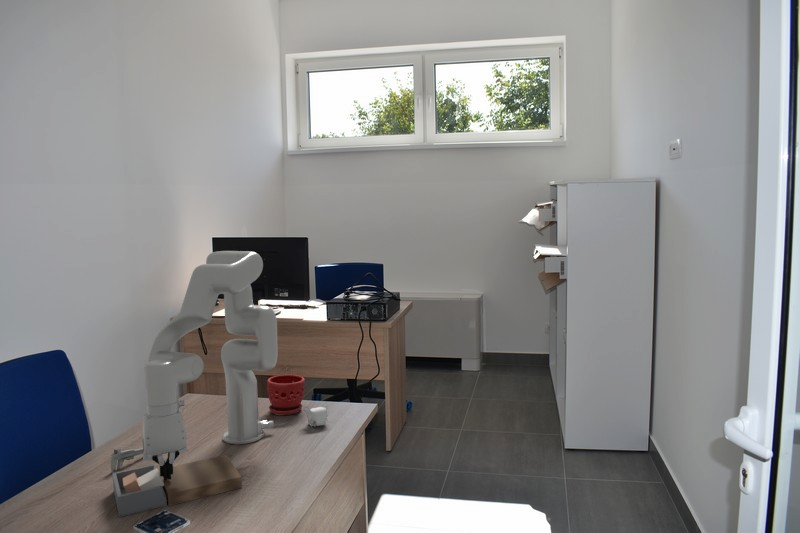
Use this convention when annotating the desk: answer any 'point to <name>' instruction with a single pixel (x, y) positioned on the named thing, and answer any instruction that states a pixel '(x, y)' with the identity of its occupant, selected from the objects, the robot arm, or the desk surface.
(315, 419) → the elephant figurine
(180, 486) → the plate
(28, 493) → the desk surface
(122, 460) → the caliper
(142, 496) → the box
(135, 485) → the tile terracotta
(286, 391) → the plant pot
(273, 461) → the desk surface
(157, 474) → the tile cream
